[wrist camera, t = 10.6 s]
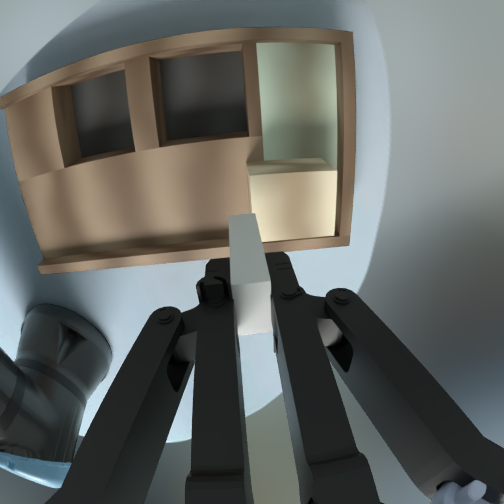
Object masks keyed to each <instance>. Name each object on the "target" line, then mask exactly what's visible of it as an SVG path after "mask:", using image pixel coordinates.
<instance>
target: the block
mask: <svg viewBox="0 0 504 504" xmlns="http://www.w3.org/2000/svg"><path fill="white" fill-rule="evenodd" d="M246 169H247V182H248V195H249V208H250V213H255V215H256V219H257V223H258V228H259V232H260V236H261V240H262V242H268V241H279V240H290V239H300V238H311V237H323V236H334V231H335V214H336V193H337V170H336V169H335V168H333V167H332V166H331V165H329V164H328V163H327V162H325V161H324V160H323V159H322V158H302V159H283V160H267V161H254V162H246Z"/></svg>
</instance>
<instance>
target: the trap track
mask: <svg viewBox="0 0 504 504" xmlns="http://www.w3.org/2000/svg"><path fill="white" fill-rule="evenodd" d="M1 109H5V117H6V124H7V130H8V136H9V142H10V147H11V152H12V157H13V161H14V166H15V170H16V174H17V178H18V182H19V186H20V190H21V193H22V197H23V200H24V204H25V207H26V210H27V213H28V216H29V219H30V222H31V225H32V228H33V231H34V234H35V237H36V240H37V242H38V245H39V248H40V250H41V253H42V255H43V258H44V259H43V260H42V261H41V263H40V264H39V265H38V266H37V267H38V269H39V271H40V274H41V275H43V274H54V273H65V272H76V271H87V270H98V269H109V268H120V267H131V266H141V265H152V264H163V263H174V262H184V261H195V260H206V259H215V258H226V257H230V247H229V215H239V214H249V213H250V208H249V195H248V182H247V169H246V162H254V161H267V160H283V159H302V158H322V159H323V160H324V161H325V162H327V163H328V164H329V165H331V166H332V167H333V168H335V169H336V170H337V193H336V214H335V231H334V236H323V237H311V238H300V239H290V240H279V241H268V242H262V245H263V249H264V253H269V252H279V251H283V252H289V251H300V250H310V249H320V248H330V247H341V246H349V243H350V233H351V222H352V210H353V195H354V178H355V154H356V84H355V61H354V45H353V32H350V31H341V30H332V29H320V28H304V27H248V28H232V29H220V30H210V31H202V32H194V33H188V34H181V35H175V36H170V37H164V38H159V39H155V40H150V41H145V42H141V43H137V44H133V45H129V46H125V47H122V48H118V49H114V50H111V51H108V52H104V53H101V54H98V55H95V56H92V57H89V58H86V59H83V60H80V61H78V62H75V63H72V64H70V65H67V66H65V67H62V68H60V69H57V70H55V71H52V72H50V73H48V74H45V75H43V76H41V77H39V78H37V79H34V80H32V81H30V82H28V83H26V84H24V85H22V86H20V87H18V88H16V89H14V90H12V91H11V92H9V93H7V94H5V95H3V96H1V97H0V110H1Z"/></svg>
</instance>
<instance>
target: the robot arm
mask: <svg viewBox="0 0 504 504" xmlns="http://www.w3.org/2000/svg"><path fill="white" fill-rule="evenodd" d="M229 247H230V257H226V258H215V259H210V260H209V262H208V263H207V264H206V270H205V277H203V278H201V279H200V280H199V281H198V282H197V284H196V289H197V294H198V298H199V305H198V306H197V307H195V308H193V309H191V310H188V311H185V312H182V313H181V312H180V310H179V309H177V308H175V307H171V306H170V307H162V308H159V309H157V310H156V311H154V312H153V313H152V314H151V315H150V317H149V319H148V320H147V322H146V324H145V325H144V327H143V329H142V331H141V332H140V334H139V336H138V337H137V339H136V341H135V343H134V344H133V346H132V348H131V350H130V352H129V353H128V355H127V357H126V359H125V360H124V362H123V364H122V366H121V368H120V370H119V371H118V373H117V375H116V377H115V379H114V381H113V382H112V384H111V386H110V388H109V390H108V392H107V394H106V395H105V397H104V399H103V401H102V403H101V405H100V407H99V409H98V411H97V413H96V415H95V417H94V419H93V421H92V423H91V425H90V427H89V429H88V431H87V433H86V435H85V437H84V439H83V441H82V443H81V445H80V447H79V449H78V451H77V453H76V455H75V458H74V459H73V457H74V453H75V448H76V443H77V439H78V435H79V430H80V426H81V422H82V418H83V414H84V410H85V407H86V403H87V400H88V399H89V397H90V396H91V395H92V393H93V392H94V391H95V389H96V388H97V386H98V385H99V384H100V382H102V381H103V380H104V379H105V377H106V376H107V374H108V372H109V368H110V365H111V362H112V353H111V349H110V347H109V345H108V343H107V341H106V340H105V338H104V337H103V336H102V334H101V333H100V332H99V331H98V330H97V329H96V328H95V327H94V326H93V325H92V324H90V323H89V322H88V321H87V320H85V319H84V318H82V317H81V316H79V315H77V314H76V313H74V312H72V311H70V310H68V309H65V308H63V307H59V306H56V305H49V304H43V305H38V306H35V307H34V308H32V309H31V310H30V311H29V313H28V314H27V316H26V318H25V319H24V321H23V323H22V327H21V337H20V341H19V346H18V351H17V356H16V359H15V361H14V362H13V361H12V360H11V358H10V357H9V356H8V355H7V354H6V353H5V352H4V351H3V349H2V348H1V347H0V467H1V468H3V469H5V470H8V471H10V472H12V473H14V474H17V475H19V476H21V477H24V478H26V479H29V480H31V481H34V482H37V483H40V484H42V485H46V486H49V487H53V488H60V487H61V488H60V489H59V490H58V491H57V492H56V493H55V494H54V495H53V496H52V497H51V498H50V499H49V500H48V501H47V502H46V503H45V504H144V502H145V499H146V496H147V493H148V490H149V487H150V485H151V482H152V479H153V476H154V473H155V471H156V468H157V465H158V462H159V459H160V456H161V453H162V451H163V448H164V445H165V442H166V440H167V437H168V434H169V431H170V429H171V426H172V423H173V420H174V417H175V415H176V412H177V409H178V407H179V404H180V401H181V398H182V396H183V393H184V390H185V387H186V385H187V382H188V379H189V377H190V374H191V371H192V368H193V366H194V363H195V371H194V389H193V412H192V444H191V471H190V474H189V475H188V476H187V478H186V483H185V484H186V485H185V504H254V500H253V494H252V486H251V476H250V466H249V456H248V445H247V434H246V422H245V410H244V398H243V386H242V374H241V361H240V347H239V339H238V336H239V335H249V334H259V333H268V332H273V336H274V353H275V352H276V357H277V362H278V368H279V374H280V379H281V385H282V390H283V396H284V401H285V407H286V413H287V418H288V424H289V429H290V435H291V441H292V446H293V452H294V458H295V463H296V469H297V475H298V481H299V491H300V502H301V504H384V503H381V502H380V500H379V497H378V493H377V490H376V486H375V483H374V479H373V476H372V472H371V469H370V466H369V463H368V461H367V458H366V457H365V455H364V454H362V453H360V452H359V451H358V449H357V447H356V444H355V440H354V437H353V434H352V431H351V427H350V424H349V421H348V418H347V414H346V411H345V408H344V405H343V402H342V398H341V395H340V392H339V390H338V386H337V383H336V380H335V377H334V374H333V371H332V368H331V365H330V362H331V363H332V365H333V366H334V368H335V369H336V370H337V372H338V373H339V375H340V376H341V378H342V379H343V381H344V382H345V384H346V385H347V386H348V388H349V390H350V391H351V393H352V394H353V395H354V397H355V398H356V400H357V401H358V403H359V404H360V406H361V407H362V409H363V410H364V411H365V413H366V414H367V416H368V417H369V419H370V420H371V422H372V423H373V425H374V426H375V428H376V429H377V430H378V432H379V433H380V435H381V436H382V438H383V439H384V441H385V442H386V443H387V445H388V447H389V448H390V450H391V451H392V453H393V454H394V455H395V457H396V458H397V460H398V461H399V463H400V464H401V466H402V467H403V469H404V470H405V472H406V473H407V475H408V476H409V477H410V479H411V480H412V481H413V483H414V484H415V485H416V486H417V488H418V489H419V490H420V491H421V492H422V493H423V494H425V495H426V496H427V497H428V498H429V499H431V500H432V501H431V503H430V504H503V503H504V448H502V447H501V446H499V445H497V444H495V443H494V442H492V441H490V440H488V439H487V438H485V437H483V435H482V434H481V433H480V432H479V430H478V429H477V428H476V427H475V426H474V424H473V423H472V422H471V421H470V419H469V418H468V417H467V416H466V415H465V413H464V412H463V411H462V410H461V409H460V407H459V406H458V405H457V404H456V403H455V402H454V400H453V399H452V398H451V397H450V396H449V395H448V393H447V392H446V391H445V390H444V389H443V388H442V386H440V384H439V383H438V382H437V381H436V380H435V378H434V377H433V376H432V375H431V374H430V373H429V372H428V371H427V369H426V368H425V367H424V366H423V365H422V364H421V363H420V362H419V361H418V359H417V358H416V357H415V356H414V355H413V354H412V353H411V352H410V351H409V349H408V348H407V347H406V346H405V345H404V344H403V343H402V342H401V341H400V340H399V339H398V338H397V336H396V335H395V334H394V333H393V332H392V331H391V330H390V329H389V328H388V327H387V326H386V325H385V324H384V323H383V322H382V321H381V319H380V318H379V317H378V316H377V315H376V314H375V313H374V312H373V311H372V310H371V309H370V308H369V307H368V306H367V305H366V304H365V303H364V302H363V301H362V300H361V299H360V297H359V296H358V295H357V294H356V293H354V292H353V291H351V290H348V289H346V288H336V289H332V290H330V291H329V292H328V293H327V294H326V297H318V296H312V295H309V294H307V293H306V292H305V291H304V289H303V288H302V287H300V286H299V284H298V281H297V278H296V275H295V273H294V270H293V267H292V264H291V261H290V258H289V256H288V255H287V254H285V253H284V252H283V251H279V252H269V253H264V249H263V245H262V240H261V236H260V232H259V228H258V223H257V219H256V215H255V213H249V214H239V215H229ZM272 328H273V329H272ZM329 360H330V362H329Z"/></svg>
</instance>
